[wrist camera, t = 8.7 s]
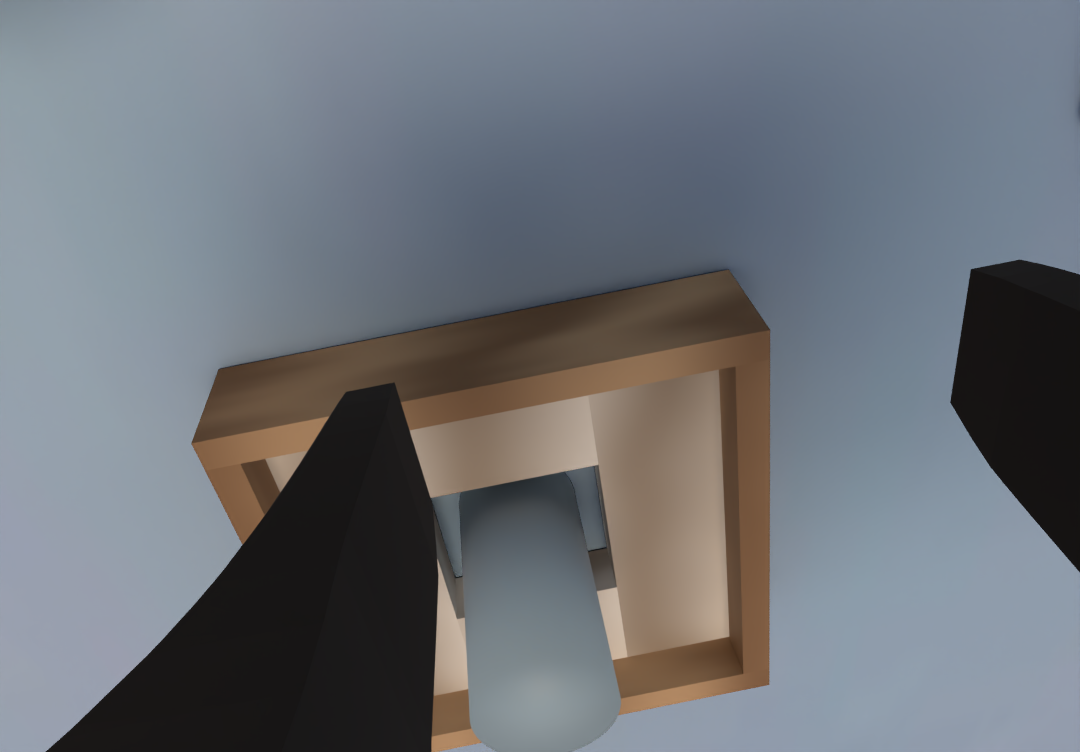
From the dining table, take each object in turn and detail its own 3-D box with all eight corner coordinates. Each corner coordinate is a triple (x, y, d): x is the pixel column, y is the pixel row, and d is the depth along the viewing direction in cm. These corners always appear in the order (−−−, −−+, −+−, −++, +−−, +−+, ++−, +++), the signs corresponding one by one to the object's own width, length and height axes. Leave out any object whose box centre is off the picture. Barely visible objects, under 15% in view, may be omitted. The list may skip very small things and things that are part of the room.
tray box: (729, 269, 21) (770, 329, 18) (738, 608, 28) (769, 684, 26) (218, 369, 21) (191, 443, 18) (361, 684, 28) (355, 768, 26)
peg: (565, 446, 24) (611, 648, 18) (582, 532, 25) (629, 740, 20) (447, 470, 24) (454, 680, 18) (472, 554, 25) (487, 769, 20)
